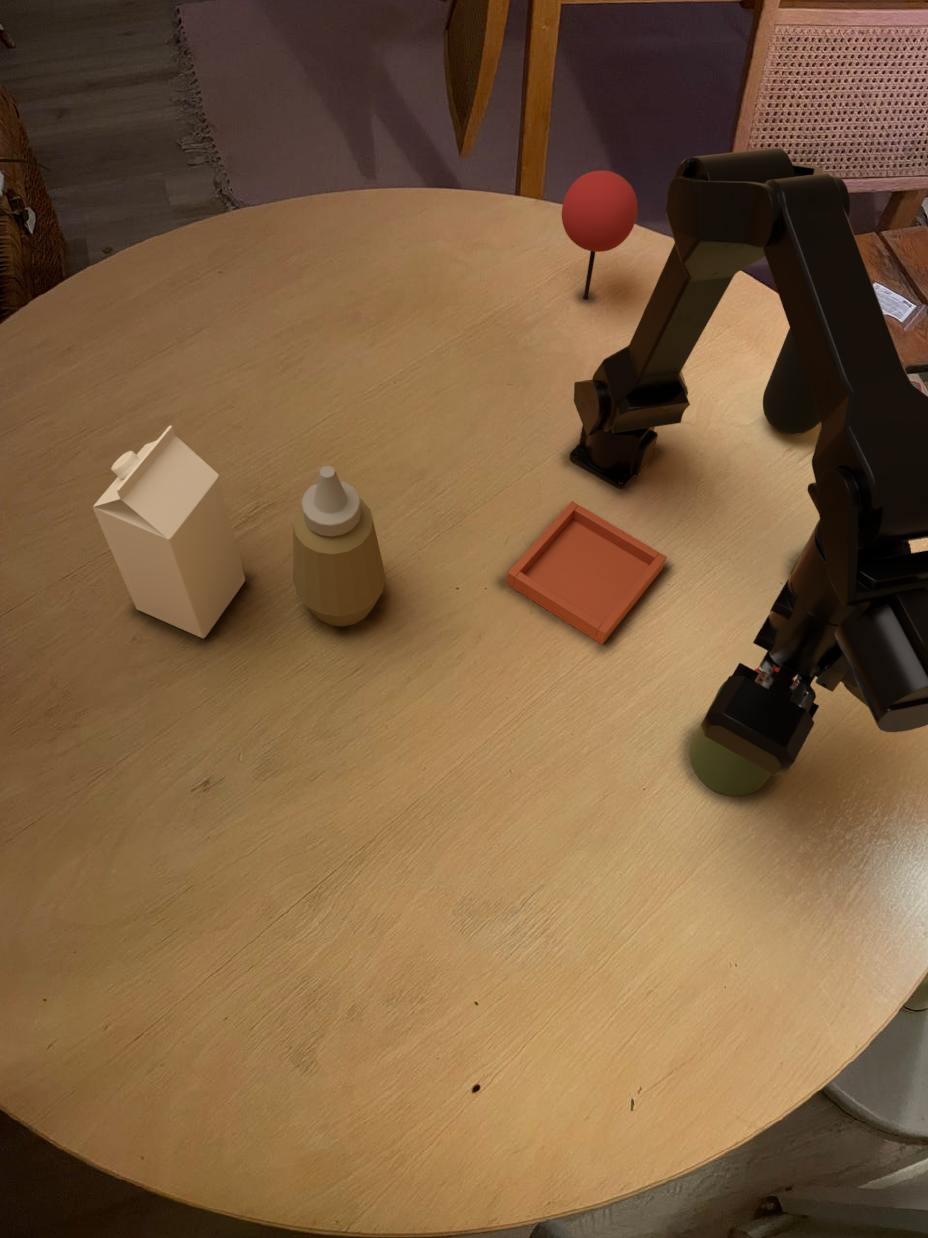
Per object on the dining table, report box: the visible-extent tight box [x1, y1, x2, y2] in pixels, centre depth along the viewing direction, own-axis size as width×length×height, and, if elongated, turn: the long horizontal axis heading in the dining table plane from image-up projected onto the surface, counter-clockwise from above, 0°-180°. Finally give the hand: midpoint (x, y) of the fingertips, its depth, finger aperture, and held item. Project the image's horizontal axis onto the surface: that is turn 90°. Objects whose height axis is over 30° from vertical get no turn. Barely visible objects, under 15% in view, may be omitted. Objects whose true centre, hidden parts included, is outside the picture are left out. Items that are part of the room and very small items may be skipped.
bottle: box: [689, 679, 772, 797], centre depth 82 cm, size 7×7×12 cm
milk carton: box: [92, 424, 246, 639], centre depth 86 cm, size 7×7×19 cm
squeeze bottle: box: [292, 465, 387, 627], centre depth 87 cm, size 8×8×18 cm
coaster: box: [506, 500, 667, 645], centre depth 96 cm, size 11×11×2 cm
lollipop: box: [561, 170, 638, 301], centre depth 111 cm, size 8×8×15 cm
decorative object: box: [762, 327, 821, 435], centre depth 101 cm, size 7×7×15 cm
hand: (765, 702), depth 78 cm, fingers closed on cap, 4 cm apart
